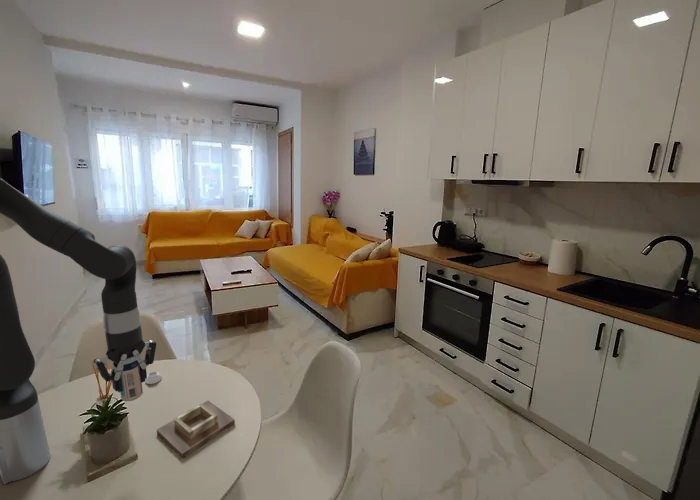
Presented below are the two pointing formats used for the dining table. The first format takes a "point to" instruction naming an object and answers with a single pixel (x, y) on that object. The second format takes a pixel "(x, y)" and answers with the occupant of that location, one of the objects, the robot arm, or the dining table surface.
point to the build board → (195, 428)
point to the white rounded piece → (153, 377)
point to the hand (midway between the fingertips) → (131, 385)
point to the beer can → (131, 380)
